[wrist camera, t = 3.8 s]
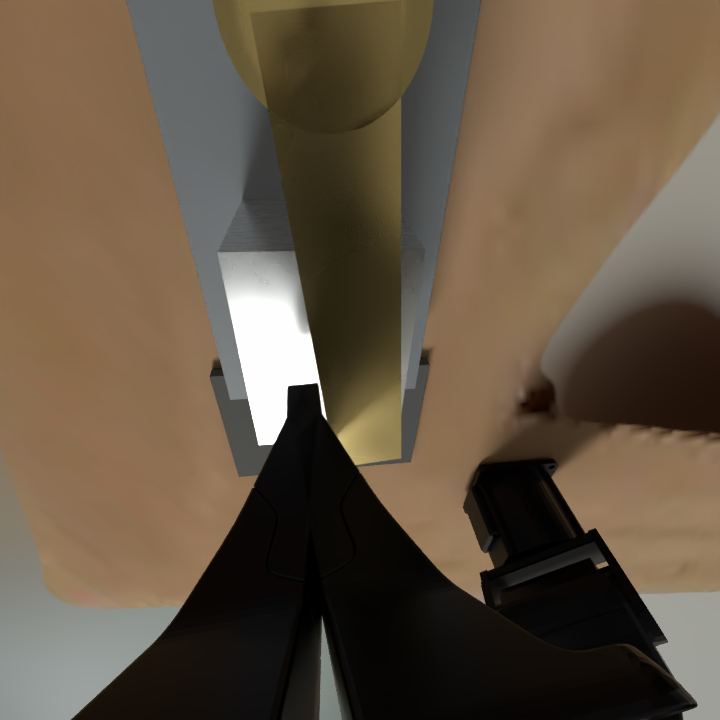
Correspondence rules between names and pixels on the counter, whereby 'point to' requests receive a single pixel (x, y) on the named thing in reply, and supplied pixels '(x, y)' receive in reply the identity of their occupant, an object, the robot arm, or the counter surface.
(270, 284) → the lever cap
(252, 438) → the rubber mat
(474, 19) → the body
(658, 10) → the counter surface
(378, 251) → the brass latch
